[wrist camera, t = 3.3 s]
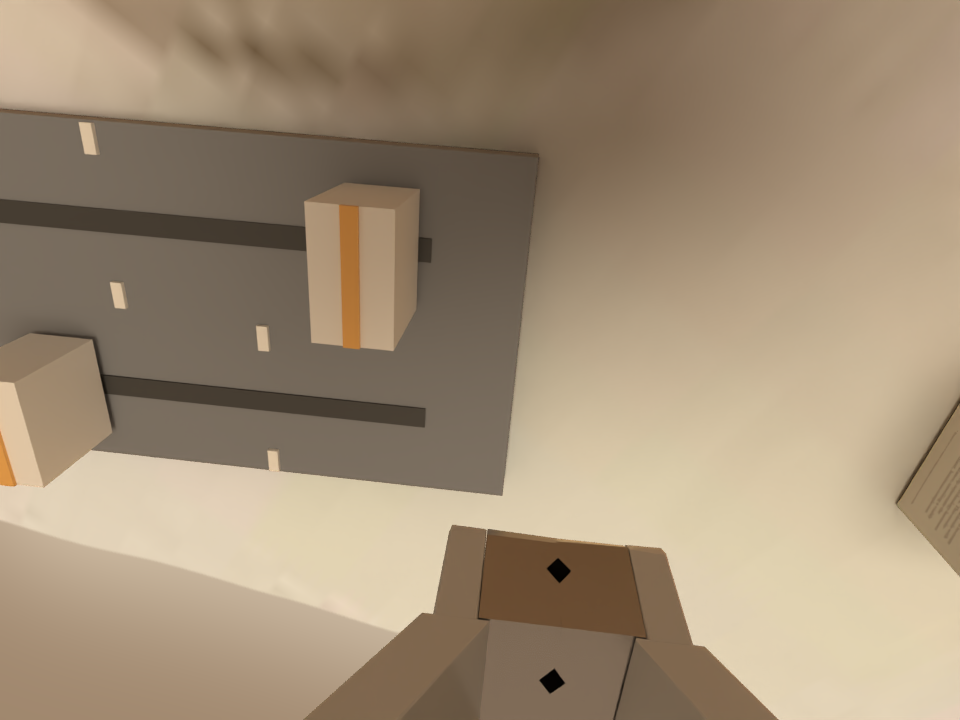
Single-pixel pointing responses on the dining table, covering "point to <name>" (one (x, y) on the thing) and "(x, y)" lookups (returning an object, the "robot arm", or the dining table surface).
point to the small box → (938, 495)
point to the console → (266, 294)
